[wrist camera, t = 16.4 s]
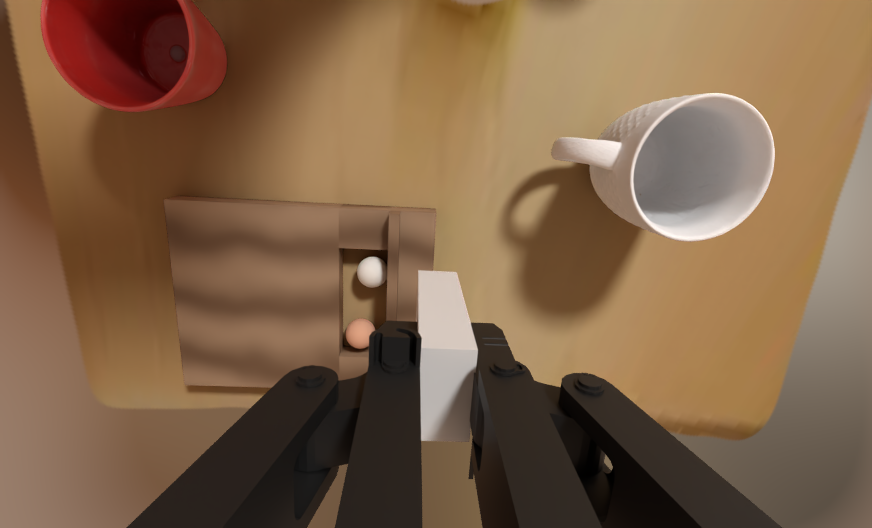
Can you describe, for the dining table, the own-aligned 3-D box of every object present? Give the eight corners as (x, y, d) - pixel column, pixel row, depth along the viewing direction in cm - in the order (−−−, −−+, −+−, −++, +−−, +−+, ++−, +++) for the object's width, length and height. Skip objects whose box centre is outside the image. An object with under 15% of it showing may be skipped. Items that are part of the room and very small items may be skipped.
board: (177, 195, 45) (151, 202, 40) (435, 208, 46) (437, 216, 42) (195, 373, 50) (174, 395, 46) (425, 379, 52) (426, 402, 47)
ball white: (351, 259, 44) (382, 263, 44) (364, 251, 47) (392, 254, 47) (351, 289, 45) (381, 293, 45) (363, 279, 48) (391, 283, 48)
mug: (524, 200, 46) (563, 224, 34) (548, 88, 43) (601, 69, 31) (660, 221, 47) (746, 252, 35) (692, 113, 44) (800, 105, 32)
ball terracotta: (340, 317, 48) (353, 328, 45) (367, 311, 50) (380, 322, 47) (341, 344, 49) (353, 356, 46) (367, 337, 51) (380, 349, 48)
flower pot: (104, 6, 40) (8, -33, 31) (222, -21, 40) (161, -69, 30) (150, 127, 43) (75, 126, 34) (260, 102, 43) (216, 94, 33)
